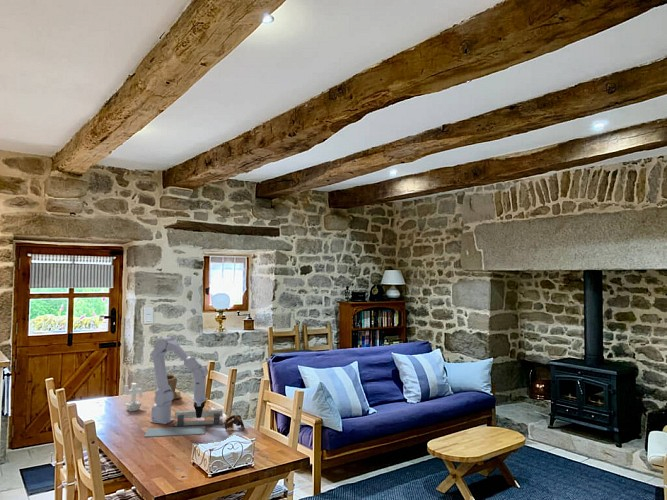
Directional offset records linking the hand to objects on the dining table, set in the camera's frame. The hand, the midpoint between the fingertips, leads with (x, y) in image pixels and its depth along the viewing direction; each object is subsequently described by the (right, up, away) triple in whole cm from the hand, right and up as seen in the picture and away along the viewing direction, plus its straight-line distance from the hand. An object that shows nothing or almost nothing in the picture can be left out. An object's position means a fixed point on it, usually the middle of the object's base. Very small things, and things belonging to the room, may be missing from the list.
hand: (198, 416), depth 259 cm
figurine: (-44, -4, +24) cm, 50 cm away
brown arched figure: (+20, -5, -7) cm, 22 cm away
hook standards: (0, -4, 0) cm, 4 cm away
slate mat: (-8, -3, -12) cm, 15 cm away
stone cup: (-31, -6, +47) cm, 57 cm away
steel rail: (0, 0, 0) cm, 0 cm away
